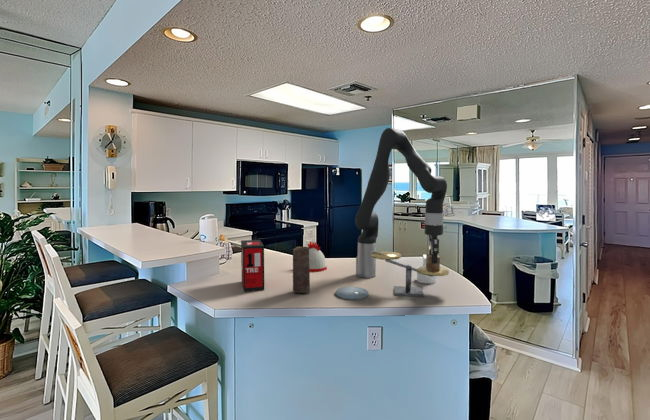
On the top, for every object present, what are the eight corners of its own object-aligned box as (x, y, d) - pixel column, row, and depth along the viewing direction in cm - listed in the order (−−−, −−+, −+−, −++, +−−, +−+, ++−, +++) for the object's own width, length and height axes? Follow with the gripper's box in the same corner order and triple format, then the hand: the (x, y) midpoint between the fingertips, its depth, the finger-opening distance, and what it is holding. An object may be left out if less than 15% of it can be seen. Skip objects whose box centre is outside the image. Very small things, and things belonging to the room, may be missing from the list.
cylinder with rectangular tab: (436, 284, 166) (437, 259, 165) (417, 282, 167) (417, 258, 166) (434, 278, 174) (435, 255, 173) (416, 277, 176) (416, 254, 175)
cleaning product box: (241, 281, 169) (241, 240, 167) (260, 280, 171) (259, 239, 169) (243, 292, 153) (243, 246, 151) (264, 290, 155) (263, 245, 154)
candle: (303, 296, 147) (302, 249, 146) (289, 293, 151) (288, 247, 149) (313, 291, 154) (313, 246, 152) (299, 288, 158) (299, 244, 156)
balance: (369, 294, 149) (370, 256, 148) (370, 285, 162) (371, 250, 161) (450, 299, 144) (451, 259, 142) (445, 289, 156) (446, 253, 155)
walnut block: (427, 270, 148) (427, 257, 148) (425, 268, 153) (426, 254, 153) (439, 271, 147) (439, 257, 147) (437, 268, 152) (438, 255, 152)
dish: (328, 294, 150) (328, 291, 150) (350, 287, 160) (350, 284, 160) (353, 302, 140) (353, 299, 140) (375, 294, 150) (375, 291, 150)
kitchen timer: (312, 264, 203) (312, 239, 202) (331, 268, 195) (331, 241, 194) (296, 269, 192) (296, 242, 191) (316, 273, 184) (316, 245, 183)
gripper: (423, 221, 156) (422, 257, 158) (426, 225, 142) (425, 264, 144) (440, 221, 155) (439, 257, 156) (445, 225, 141) (445, 265, 142)
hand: (433, 261), depth 150 cm, fingers open, 8 cm apart
